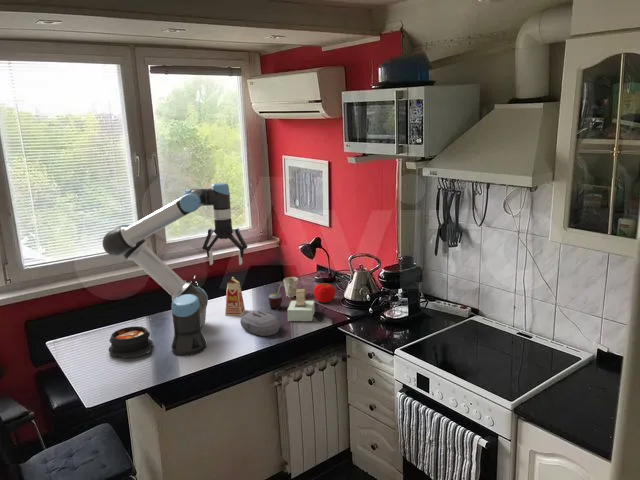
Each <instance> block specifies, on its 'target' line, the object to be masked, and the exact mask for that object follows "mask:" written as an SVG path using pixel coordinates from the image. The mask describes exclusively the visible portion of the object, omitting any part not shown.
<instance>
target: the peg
mask: <svg viewBox="0 0 640 480" xmlns="http://www.w3.org/2000/svg"><path fill="white" fill-rule="evenodd" d="M295 299H296V300H295V301H296V303H297V307H306V305H305V301H306V289H305V288H297V291H296V297H295Z"/></svg>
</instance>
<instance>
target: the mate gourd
mask: <svg viewBox="0 0 640 480" xmlns="http://www.w3.org/2000/svg"><path fill="white" fill-rule="evenodd" d="M282 285H284V281H283V282H282V283H280V285H279V287H278V291H277V292H272V293H269V295H268V303H269V306H270V307H269V309H270V310H271V309H272V310H277V309H279V310H280V308H282V302H283V297H282V294H281V293H280V290H281V287H282ZM279 307H280V308H279ZM274 308H276V309H274Z"/></svg>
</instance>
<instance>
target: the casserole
mask: <svg viewBox="0 0 640 480" xmlns="http://www.w3.org/2000/svg"><path fill="white" fill-rule="evenodd" d="M150 335H151V334H150V331H149V330H148V329H147V328H146V327H144V326H138V325H137V326H128V327H122V328H119V329H117V330H115V331H114V332H112V333H111V336H110V338H109V339H108V340H109V343H110V344H111V345H110V346H109V348H108V352H109V354H111V355H115V356H118V357H121V358H124V359H130V358H131V359H133V358H137V357H140V356H143V355H146V354H148V353H149V352H151V351H152V347H153V345H154V342H153V341H152V340H151V338H149V337H150Z"/></svg>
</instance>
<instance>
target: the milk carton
mask: <svg viewBox="0 0 640 480" xmlns="http://www.w3.org/2000/svg"><path fill="white" fill-rule="evenodd" d="M225 297H226V299H225V302H226V303H225V312H224V313H225V314H224V316H227V317H228V316H230V317H231V316H232V317H233V316H234V317H235V316H237V317H238V316H240V317H242V316H244V313H245V310H246V309H245V303H244V302H245V301H244V297H243V293H242V287H241V283H240V281H239V280H237V279H235V277H234V276H232V277H231V279H230V281H228V282H227V287H226V293H225Z"/></svg>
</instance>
